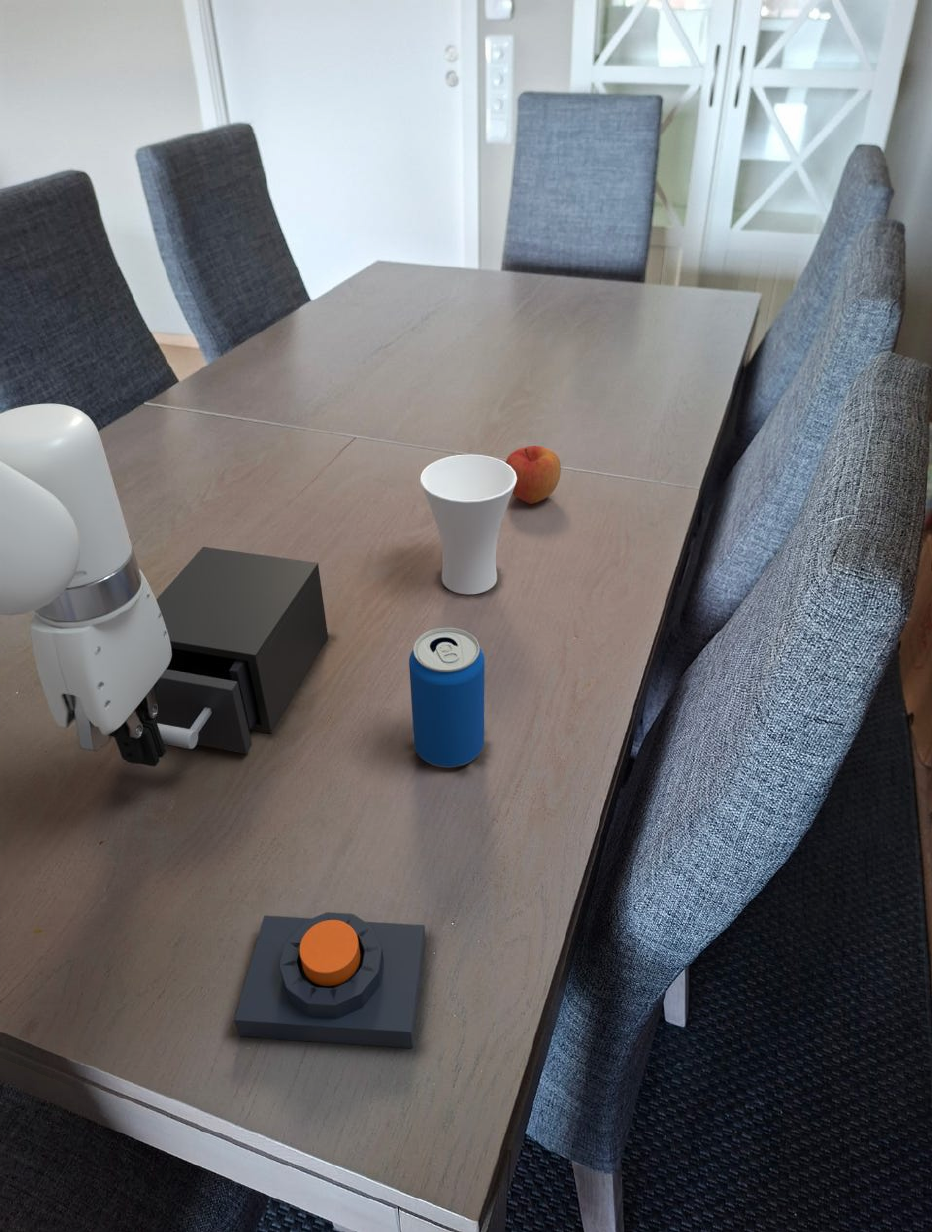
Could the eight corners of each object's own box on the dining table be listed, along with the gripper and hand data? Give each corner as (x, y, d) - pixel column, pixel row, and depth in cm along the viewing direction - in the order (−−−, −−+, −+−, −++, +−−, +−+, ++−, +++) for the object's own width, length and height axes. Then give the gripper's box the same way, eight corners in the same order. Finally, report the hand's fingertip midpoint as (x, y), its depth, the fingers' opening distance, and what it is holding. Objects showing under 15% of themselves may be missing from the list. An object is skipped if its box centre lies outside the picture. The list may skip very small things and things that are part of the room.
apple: (569, 496, 117) (573, 442, 112) (537, 518, 113) (540, 463, 108) (525, 479, 121) (527, 426, 116) (493, 500, 117) (493, 446, 112)
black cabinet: (271, 733, 83) (255, 655, 77) (150, 711, 85) (125, 633, 79) (328, 637, 94) (318, 562, 88) (220, 620, 97) (202, 546, 91)
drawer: (224, 790, 76) (207, 725, 71) (106, 766, 78) (82, 702, 74) (304, 659, 90) (294, 597, 85) (202, 642, 92) (186, 581, 87)
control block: (239, 1036, 60) (229, 1006, 57) (268, 932, 66) (260, 900, 64) (412, 1048, 59) (410, 1018, 57) (425, 941, 66) (423, 910, 63)
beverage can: (468, 715, 85) (468, 617, 77) (494, 761, 80) (496, 662, 72) (405, 732, 83) (398, 634, 75) (427, 781, 78) (422, 681, 71)
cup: (530, 571, 104) (534, 469, 95) (483, 616, 97) (483, 511, 88) (457, 545, 108) (455, 445, 100) (407, 586, 101) (400, 484, 93)
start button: (296, 984, 59) (293, 971, 58) (309, 931, 62) (306, 917, 61) (355, 988, 59) (352, 974, 58) (364, 935, 62) (362, 921, 61)
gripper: (97, 519, 69) (151, 690, 80) (-33, 636, 57) (52, 817, 69) (183, 531, 67) (226, 704, 78) (68, 654, 56) (137, 835, 67)
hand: (144, 756), depth 73 cm, fingers closed
